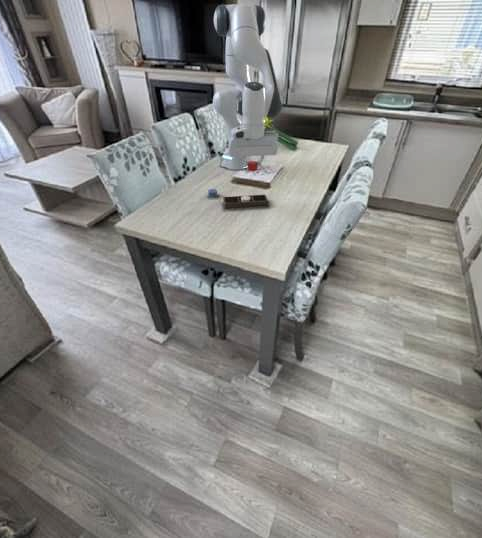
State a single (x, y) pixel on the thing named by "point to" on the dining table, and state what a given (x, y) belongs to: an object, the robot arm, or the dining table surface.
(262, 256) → the dining table surface
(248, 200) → the ivory token
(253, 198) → the token board
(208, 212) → the dining table surface
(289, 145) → the daffodil flowers
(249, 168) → the red token
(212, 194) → the slate token
